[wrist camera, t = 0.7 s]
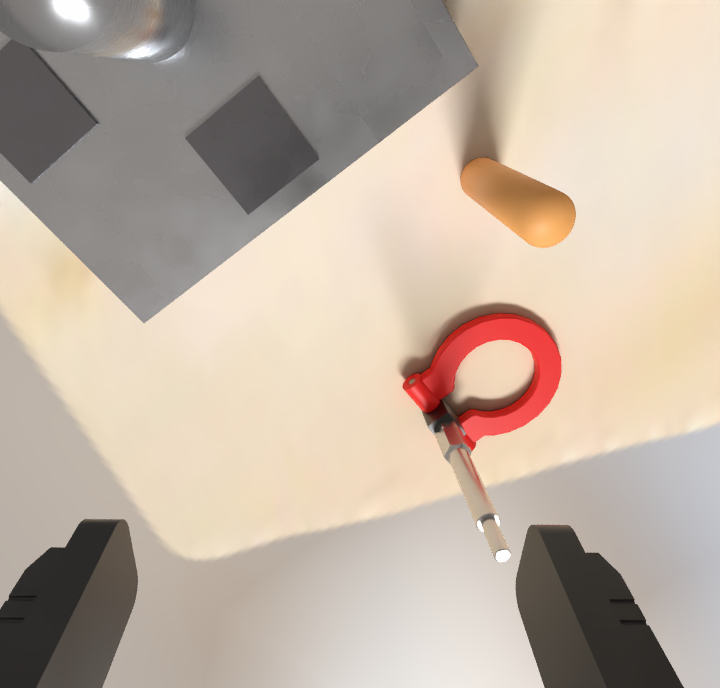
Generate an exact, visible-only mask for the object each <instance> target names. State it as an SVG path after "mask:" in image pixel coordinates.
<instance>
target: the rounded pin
mask: <svg viewBox="0 0 720 688" xmlns="http://www.w3.org/2000/svg"><path fill="white" fill-rule="evenodd" d="M461 186H462V189H463V191H464V192H465V193H466V194H467V195H468V196H469V197H471V198H472V199H473V200H474V201H476V202H477V203H478V204H479V205H481V206H482V207H483V208H484V209H486V210H487V211H488V212H489V213H491V214H492V215H493V216H494V217H496V218H497V219H498V220H500V221H501V222H502V223H503V224H505V225H506V226H507V227H508V228H510V229H511V230H512V231H513V232H515V233H516V234H517V235H518V236H520V237H521V238H522V239H523V240H525V241H526V242H527V243H528V244H530V245H532V246H535V247H539V248H546V247H551V246H554V245H556V244H558V243H560V242H561V241H562V240H564V239H565V238H566V237H567V236H568V234H569V233H570V231H571V230H572V228H573V225H574V223H575V217H576V212H575V207H574V204H573V202H572V200H571V199H570V198H569V197H568V196H567V195H566V194H564V193H562V192H560V191H558V190H556V189H554V188H552V187H550V186H547V185H545V184H543V183H541V182H539V181H537V180H535V179H532V178H530V177H528V176H526V175H524V174H522V173H520V172H517V171H515V170H513V169H511V168H509V167H507V166H505V165H502V164H500V163H498V162H496V161H494V160H492V159H489V158H486V157H480V158H476V159H474V160H472V161H470V162H469V163H468V164H467V165H466V166H465V168H464V169H463V171H462V174H461Z"/></svg>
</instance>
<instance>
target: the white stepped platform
mask: <svg viewBox="0 0 720 688" xmlns="http://www.w3.org/2000/svg"><path fill="white" fill-rule="evenodd" d="M477 67H478V64H477V63H476V61H475V59H474V57H473V56H472V54H471V52H470V50H469V48H468V47H467V45H466V43H465V41H464V39H463V38H462V36H461V34H460V32H459V30H458V29H457V27H456V25H455V23H454V21H453V20H452V18H451V16H450V14H449V12H448V11H447V9H446V7H445V5H444V3H443V2H442V0H0V180H1V181H2V182H3V183H4V184H5V185H6V186H7V187H8V188H9V189H10V190H11V191H12V192H13V193H14V194H15V195H16V196H17V197H18V198H19V199H20V200H21V201H22V202H23V203H24V204H25V205H26V206H27V207H28V208H29V209H30V210H31V211H32V212H33V213H34V214H35V215H36V216H37V217H38V218H39V219H40V220H41V221H42V222H43V223H44V224H45V225H46V226H47V227H48V228H49V229H50V230H51V231H52V232H53V233H54V234H55V235H56V236H57V237H58V238H59V239H60V240H61V241H62V242H63V243H64V244H65V245H66V246H67V247H68V248H69V249H70V250H71V251H72V252H73V253H74V254H75V255H76V256H77V257H78V258H79V259H80V260H81V261H82V262H83V263H84V264H85V265H86V266H87V267H88V268H89V269H90V270H91V271H92V272H93V273H94V274H95V275H96V276H97V277H98V278H99V279H100V280H101V281H102V282H103V283H104V284H105V285H106V286H107V287H108V288H109V289H110V290H111V291H112V292H113V293H114V294H115V295H116V296H117V297H118V298H119V299H120V300H121V301H122V302H123V303H124V304H125V305H126V306H127V307H128V308H129V309H130V310H131V311H132V312H133V313H134V314H135V315H136V316H137V317H138V318H139V319H140V320H141V321H142V322H143V323H145V322H147V321H148V320H149V319H150V318H152V317H153V316H154V315H156V314H157V313H158V312H160V311H161V310H162V309H163V308H165V307H166V306H167V305H169V304H170V303H171V302H173V301H174V300H175V299H176V298H178V297H179V296H180V295H182V294H183V293H184V292H186V291H187V290H188V289H189V288H191V287H192V286H193V285H195V284H196V283H197V282H199V281H200V280H201V279H202V278H204V277H205V276H206V275H208V274H209V273H210V272H212V271H213V270H214V269H215V268H217V267H218V266H219V265H221V264H222V263H223V262H225V261H226V260H227V259H228V258H230V257H231V256H232V255H234V254H235V253H236V252H238V251H239V250H240V249H241V248H243V247H244V246H245V245H247V244H248V243H249V242H251V241H252V240H253V239H254V238H256V237H257V236H258V235H260V234H261V233H262V232H264V231H265V230H266V229H267V228H269V227H270V226H271V225H273V224H274V223H275V222H277V221H278V220H279V219H280V218H282V217H283V216H284V215H286V214H287V213H288V212H290V211H291V210H292V209H293V208H295V207H296V206H297V205H299V204H300V203H301V202H303V201H304V200H305V199H306V198H308V197H309V196H310V195H312V194H313V193H314V192H316V191H317V190H318V189H319V188H321V187H322V186H323V185H325V184H326V183H327V182H329V181H330V180H331V179H332V178H334V177H335V176H336V175H338V174H339V173H340V172H342V171H343V170H344V169H345V168H347V167H348V166H349V165H351V164H352V163H353V162H355V161H356V160H357V159H358V158H360V157H361V156H362V155H364V154H365V153H366V152H368V151H369V150H370V149H371V148H373V147H374V146H375V145H377V144H378V143H379V142H381V141H382V140H383V139H384V138H386V137H387V136H388V135H390V134H391V133H392V132H394V131H395V130H396V129H397V128H399V127H400V126H401V125H403V124H404V123H405V122H407V121H408V120H409V119H410V118H412V117H413V116H414V115H416V114H417V113H418V112H420V111H421V110H422V109H423V108H425V107H426V106H427V105H429V104H430V103H431V102H433V101H434V100H435V99H436V98H438V97H439V96H440V95H442V94H443V93H444V92H446V91H447V90H448V89H449V88H451V87H452V86H453V85H455V84H456V83H457V82H459V81H460V80H461V79H462V78H464V77H465V76H466V75H468V74H469V73H470V72H472V71H473V70H474V69H475V68H477Z"/></svg>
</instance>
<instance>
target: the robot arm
mask: <svg viewBox="0 0 720 688" xmlns="http://www.w3.org/2000/svg"><path fill="white" fill-rule="evenodd" d="M137 585H138V576H137V569H136V564H135V558H134V554H133V549H132V543H131V537H130V532H129V527H128V524H127V522H126V521H125V520H115V519H114V520H112V519H109V520H108V519H85V520H83V521H81V523H80V524H79V525H78V527H77V528H76V530H75V532H74V534H73V535H72V537H71V539H70V540H69V542H68V544H67V546H66V547H65V548H53V547H52V548H50V549H48V550H47V551H46V552H45V553H44V554H43V555H42V556H40V558H38V559H37V560H36V561H35V562H34V563H32V564H31V565H30V566H29V567H28V568H27V569H26V570H25V571H24V573H23V574H22V576H21V578H20V579H19V581H18V582H17V584H16V585H15V587H14V588H13V590H12V592H11V593H10V595H9V599H8V601H5V603H4V604H3V606H2V607H1V609H0V688H102V687H103V684H104V681H105V679H106V676H107V674H108V671H109V669H110V666H111V663H112V661H113V658H114V656H115V653H116V650H117V648H118V645H119V643H120V640H121V637H122V635H123V632H124V630H125V627H126V625H127V622H128V619H129V617H130V614H131V612H132V609H133V606H134V603H135V598H136V593H137ZM516 597H517V604H518V608H519V611H520V614H521V618H522V620H523V624H524V627H525V630H526V633H527V636H528V639H529V642H530V645H531V648H532V651H533V654H534V657H535V660H536V663H537V666H538V669H539V672H540V675H541V678H542V681H543V684H544V687H545V688H684V687H683V686H682V684H681V682H680V680H679V678H678V677H677V675H676V673H675V671H674V669H673V668H672V666H671V664H670V662H669V660H668V659H667V657H666V655H665V653H664V651H663V650H662V648H661V646H660V644H659V642H658V641H657V639H656V637H655V635H654V633H653V632H652V630H651V628H650V626H647V624H646V619H645V617H644V616H643V614H642V612H641V610H640V608H639V607H638V605H637V604H635V602H634V598H633V596H632V594H631V592H630V590H629V589H628V587H627V585H626V583H625V582H624V580H623V578H622V576H621V574H619V573H618V571H617V570H616V569H614V568H613V567H612V566H611V565H610V564H609V563H608V562H607V561H606V560H605V559H604V558H603V557H602V556H601V555H600V554H599V553H585V551H584V549H583V547H582V546H581V544H580V542H579V540H578V538H577V536H576V534H575V532H574V530H573V529H572V528H571V527H570V526H568V525H531V526H530V527H529V528H528V531H527V535H526V539H525V544H524V547H523V551H522V556H521V560H520V564H519V568H518V573H517V577H516Z"/></svg>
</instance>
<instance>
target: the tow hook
mask: <svg viewBox="0 0 720 688" xmlns="http://www.w3.org/2000/svg"><path fill="white" fill-rule="evenodd" d="M494 340H512V341H515V342H518V343H521V344H522V345H524V346H525V347H527V348H528V349H529V350H530V352H531V353H532V356H533V359H534V363H535V373H534V377H533V381H532V383H531V385H530V387H529V389H528V390H527V392H526V393H525V394H524V395H523V396H522V397H521V398H520V399H519V400H518V401H516V402H515V403H513V404H512V405H510V406H508V407H506V408H503V409H500V410H496V411H478V410H475V409H471V410H468V411H467V412H465V413H464V414H463V415H461V416H460V417H457V415H456V414H455V413H454V412H453V410H452V409H451V408H450V407H449V406H448V404H447V403H446V402H445V401H444V400H443V398H444V397H445V396H447V395H448V394H450V393H451V392H452V391H453V390H454V380H455V374H456V371H457V369H458V367H459V365H460V363H461V361H462V360H463V359H464V358H465V357H466V355H467V354H468V353H470V352H471V351H472V350H473V349H475V348H476V347H478V346H480V345H482V344H484V343H486V342H490V341H494ZM560 377H561V357H560V354H559V351H558V348H557V345H556V343H555V342H554V340H553V339H552V338H551V337H550V335H549V334H548V333H547V331H546V330H545V329H543V328H542V327H541V326H539V325H538V324H536V323H535V322H534V321H532V320H531V319H528V318H525V317H522V316H519V315H516V314H504V313H496V314H491V315H486V316H481V317H478V318H476V319H474V320H472V321H469V322H467V323H465V324H463V325H462V326H460V327H459V328H458V329H457V330H455V331H454V332H453V333H452V334H450V335H449V336H448V337H447V338H446V340H445V341H444V342H443V344H442V345H441V346H440V347H439V349H438V350H437V352H436V355H435V357H434V359H433V361H432V364H431V367H430V368H428V369H427V370H426V371H424V372H423V373H421V374H419V373H416V374H413V375H411V376H409V377H408V378H407V379H406V380H405V382H404V383H403V389H404V390H405V391H406V392H407V393H408V395H409V396H410V397H411V398H412V399H413V400H414V402H415V403H416V404H417V405H418V406H419V407H420V408H421V410H422V413H423V416H424V418H425V421H426V423H427V426H428V428H429V429H430V430H431V432H432V433H433V434H434V435H435V436H436V438H437V441H438V444H439V446H440V449H441V451H442V453H443V456H444V457H445V459H446V460H447V461H448V462H449V463H450V464H451V466H452V468H453V470H454V473H455V475H456V478H457V480H458V483H459V485H460V487H461V490H462V492H463V495H464V497H465V500H466V502H467V504H468V507H469V509H470V512H471V514H472V516H473V519H474V521H475V523H476V526H477V528H478V529H479V530H480V531H482V532H484V534H485V536H486V539H487V541H488V544H489V546H490V548H491V551H492V553H493V556H494V558H495V559H496V560H497V561H501V562H502V561H506V560H507V559H508V558H509V557H510V555H511V552H510V550H509V548H508V546H507V543H506V541H505V539H504V537H503V535H502V533H501V530H500V528H499V523H500V518H499V517H498V514H497V512H496V510H495V508H494V506H493V503H492V501H491V499H490V497H489V495H488V493H487V491H486V489H485V486H484V484H483V482H482V480H481V478H480V476H479V474H478V472H477V470H476V467H475V465H474V463H473V461H472V459H471V457H470V455H471V451H472V450H473V449H474V448H475V446H476V441H477V440H479V439H480V438H482V437H483V436H485V435H492V436H493V435H498V434H503V433H507V432H511V431H513V430H515V429H517V428H520V427H522V426H524V425H526V424H527V423H529V422H530V421H531V420H533V419H534V418H535V417H537V416H538V415H539V414H540V413H541V412H542V411H543V410H544V409H545V407H546V406H547V405H548V404H549V403H550V401H551V399H552V398H553V396H554V394H555V392H556V390H557V388H558V384H559V381H560Z"/></svg>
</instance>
